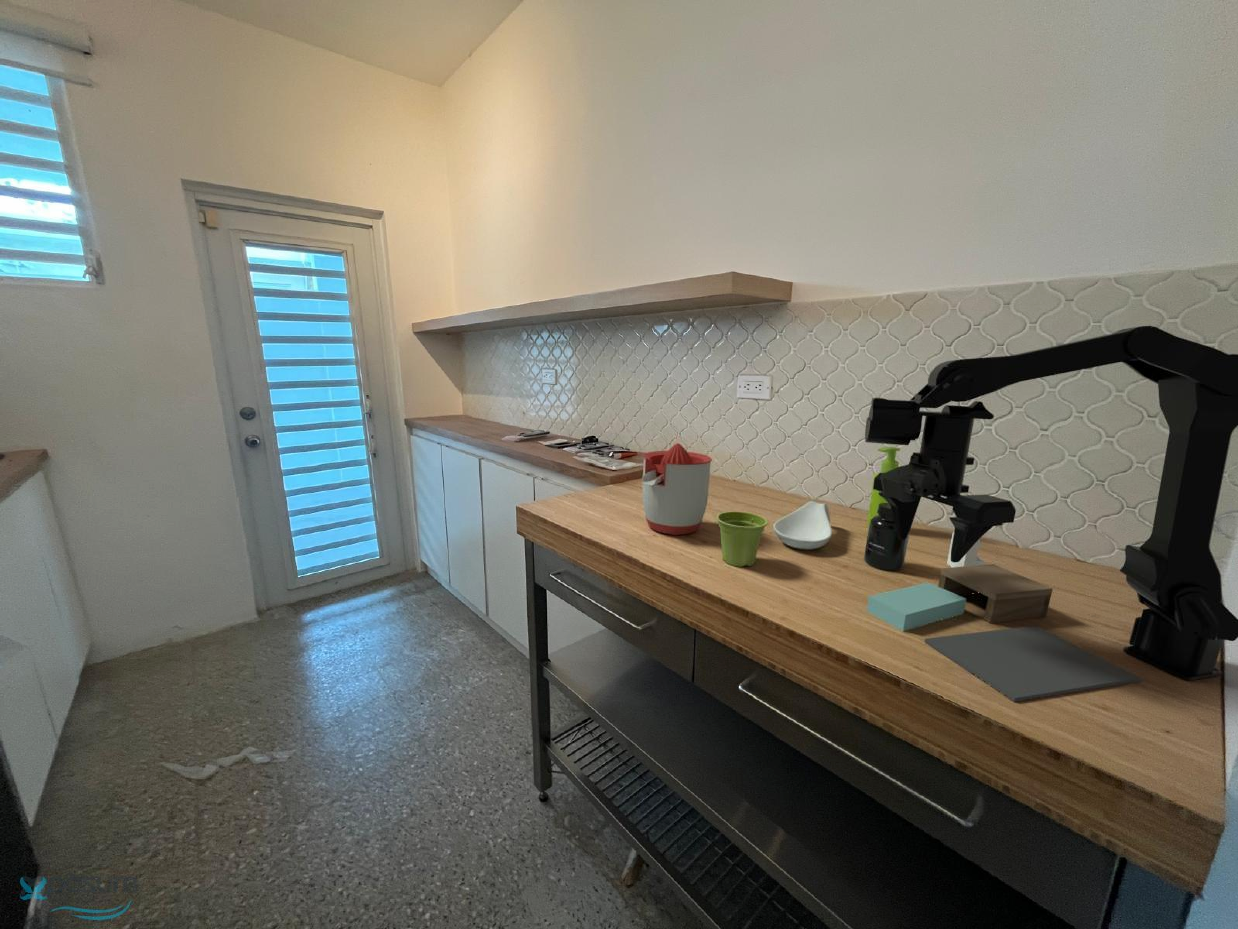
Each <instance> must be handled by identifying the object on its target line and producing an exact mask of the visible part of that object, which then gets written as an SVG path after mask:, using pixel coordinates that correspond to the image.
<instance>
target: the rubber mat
mask: <svg viewBox="0 0 1238 929" xmlns="http://www.w3.org/2000/svg"><path fill="white" fill-rule="evenodd" d="M923 641H924V643H925V644H926V645H928V646H930V647H931V648H933V649H935V651H937V650H938V651H937V652H939V653H941V654H942V655H943V656H944V657H946V656H947V657H946V658H948V657H949V658H950V659H949V658H948V659H949V660H950V661H952V662H954V661H955V662H954V663H955V664H956V665H958V664H959V665H958V666H959V667H961V668H963V667H964V668H965V669H964V668H963V669H964V670H965V671H967V672H969V671H970V672H971V674H972V673H973V674H975V675H976V676H977V677H976V676H975V675H974V676H975V677H976V678H978V677H979V678H980V679H982V680H981V681H982V682H983V681H985V682H986V683H987V685H988V684H990V685H991V686H992V687H991V686H990V687H991V688H992V689H994V688H995V689H996V690H995V689H994V690H995V691H997V692H998V691H1000V692H1001V693H1003V694H1004V695H1006V696H1005V697H1006V698H1007V697H1008V699H1009V698H1010V699H1009V700H1010V701H1011V702H1013V703H1017V702H1022V701H1027V699H1029V700H1033V699H1032V698H1035V699H1040V698H1045V697H1044V696H1047V697H1052V696H1051V695H1053V696H1057V695H1058V696H1059V695H1065V694H1069V693H1070V692H1071V693H1077V692H1082V691H1088V690H1096V689H1099V688H1100V689H1101V688H1106V687H1113V686H1118V685H1125V684H1131V683H1137V682H1138V683H1139V682H1141V680H1142V677H1141V676H1139V675H1137V674H1135V673H1133V672H1131V671H1129V670H1127V669H1125V668H1123V667H1121V666H1118V665H1117V664H1115V663H1113V662H1112V661H1109V660H1106V659H1105V658H1102V657H1100V656H1099V655H1096V654H1094V653H1093V652H1091V651H1088V650H1086V649H1084V648H1083V647H1080V646H1078V645H1076V644H1075V643H1072V642H1071V641H1068V640H1066V639H1064V638H1062V637H1061V636H1058V635H1056V634H1054V633H1053V632H1050V631H1048V630H1046V629H1044V628H1042V627H1040V626H1038V625H1029V626H1020V627H1013V628H1005V629H1004V628H1003V629H996V630H995V629H994V630H987V631H979V632H972V633H971V632H970V633H962V634H955V635H953V634H952V635H945V636H937V637H936V636H935V637H928V638H925V639H924V640H923ZM970 672H969V673H970ZM973 674H972V675H973ZM979 678H978V679H979ZM980 679H979V680H980ZM985 682H984V683H985ZM986 683H985V684H986ZM1000 692H999V693H1000ZM1001 693H1000V694H1001ZM1003 694H1002V695H1003ZM1004 695H1003V696H1004ZM1038 697H1040V698H1038ZM1021 700H1022V701H1021Z"/></svg>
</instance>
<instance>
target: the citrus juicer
mask: <svg viewBox="0 0 1238 929" xmlns="http://www.w3.org/2000/svg"><path fill="white" fill-rule="evenodd" d="M642 458H643V466H642V467H643V473H642V478H641V482H642V490H641V491H642V492H641V494H642V506H643V510H644V514H645V519H646V522H647V524H648V527H649V528H650V529H652V530H654V531H655V532H658V533H663V534H669V535H672V536H679V535H688V534H692V533H695V532H697V531H698V529H699V528H700V526H701V525H702V521H703V518H704V515H705V512H706V510H707V506H708V499H709V486H710V475H711V474H710V473H711V462H712V461H713V460H712V458H711V457H710V456H709V455H707V454H703V453H697V452H690V451H686V449H685V447H683V445H682V444H680V443H674V445H673V446H671V447H670V448H669V449H668V450H656V451H648V452H645V453H643V455H642Z"/></svg>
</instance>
